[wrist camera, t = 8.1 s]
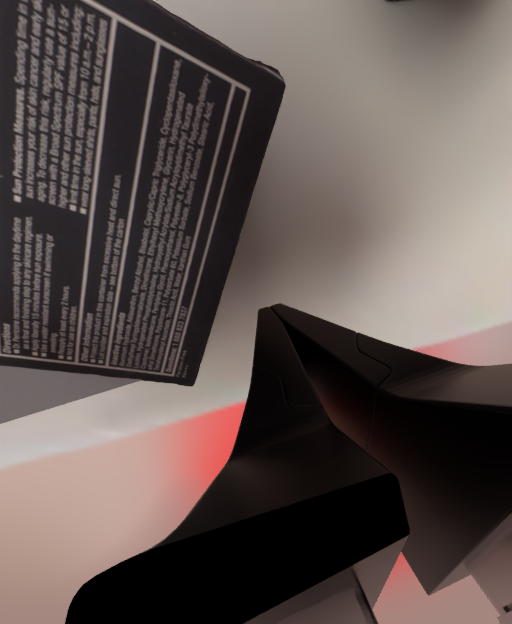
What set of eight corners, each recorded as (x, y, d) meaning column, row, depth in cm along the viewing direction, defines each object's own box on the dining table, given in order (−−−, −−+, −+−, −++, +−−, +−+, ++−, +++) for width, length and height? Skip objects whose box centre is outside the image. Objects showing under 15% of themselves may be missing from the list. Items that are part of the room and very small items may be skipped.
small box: (242, 130, 12) (-51, -21, 8) (297, 72, 6) (-565, -502, 3) (189, 321, 15) (-39, 277, 12) (194, 394, 10) (-250, 356, 6)
